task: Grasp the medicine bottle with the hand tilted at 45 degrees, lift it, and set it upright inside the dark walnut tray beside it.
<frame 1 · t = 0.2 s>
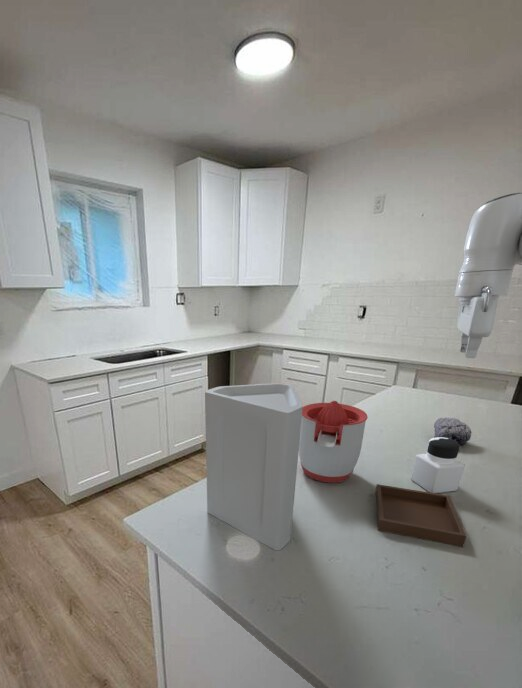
hand: (466, 354, 80), 31 cm above the counter, tool pointing down, fingers open, 8 cm apart
triangular white caddy: (259, 514, 80), on the counter
medicine bottle: (433, 485, 89), on the counter
pumice stone: (446, 443, 110), on the counter
tray: (413, 517, 77), on the counter
citrus juicer: (324, 474, 95), on the counter
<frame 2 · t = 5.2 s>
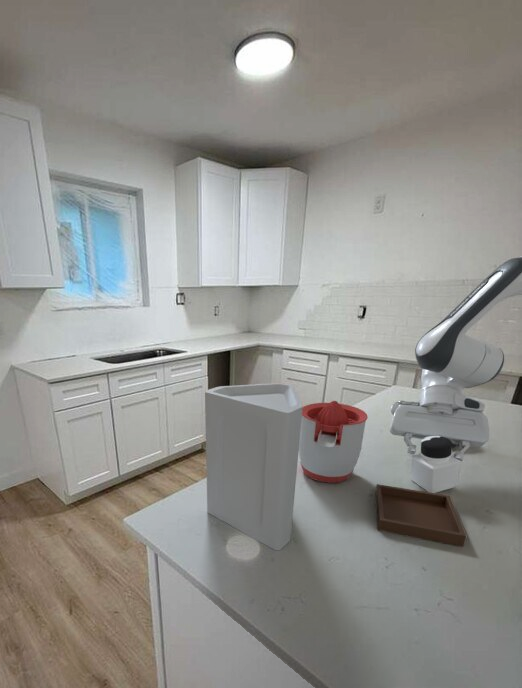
hand: (434, 456, 86), 8 cm above the counter, tool tilted 45°
medicine bottle: (433, 483, 88), on the counter, touching gripper
everything else where it was.
when the fingers open (9 cm above the counter, at t = 13.7 s): medicine bottle stays where it is, resting on tray.
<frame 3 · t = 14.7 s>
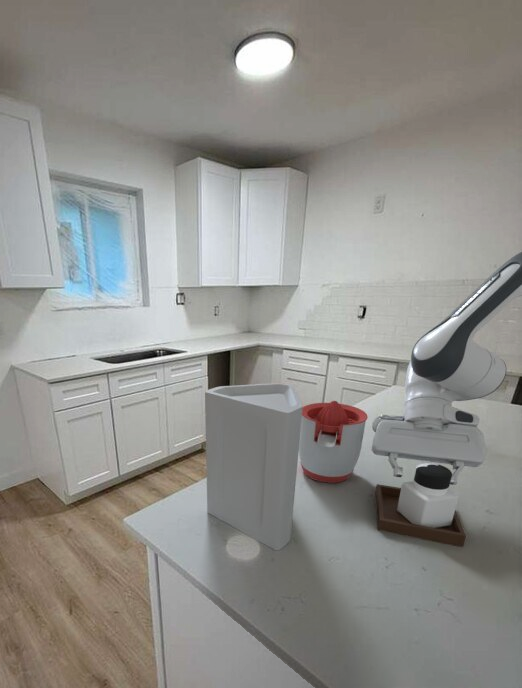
hand: (424, 480, 73), 9 cm above the counter, tool tilted 45°, fingers open, 8 cm apart
medicine bottle: (422, 518, 76), point 1 cm above the counter, touching gripper, tray
everything else where it was.
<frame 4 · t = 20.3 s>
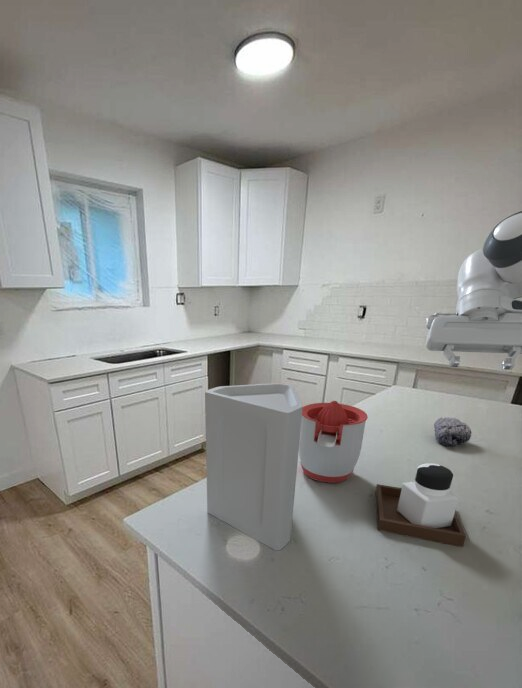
hand: (480, 366, 76), 29 cm above the counter, tool tilted 45°, fingers open, 8 cm apart
medicine bottle: (422, 519, 76), resting on tray
everything else where it was.
at the end: medicine bottle inside the target area in the tray (1.6 cm from its centre), point 0.4 cm above the tray's base; medicine bottle tilted 0°; the gripper is holding nothing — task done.
